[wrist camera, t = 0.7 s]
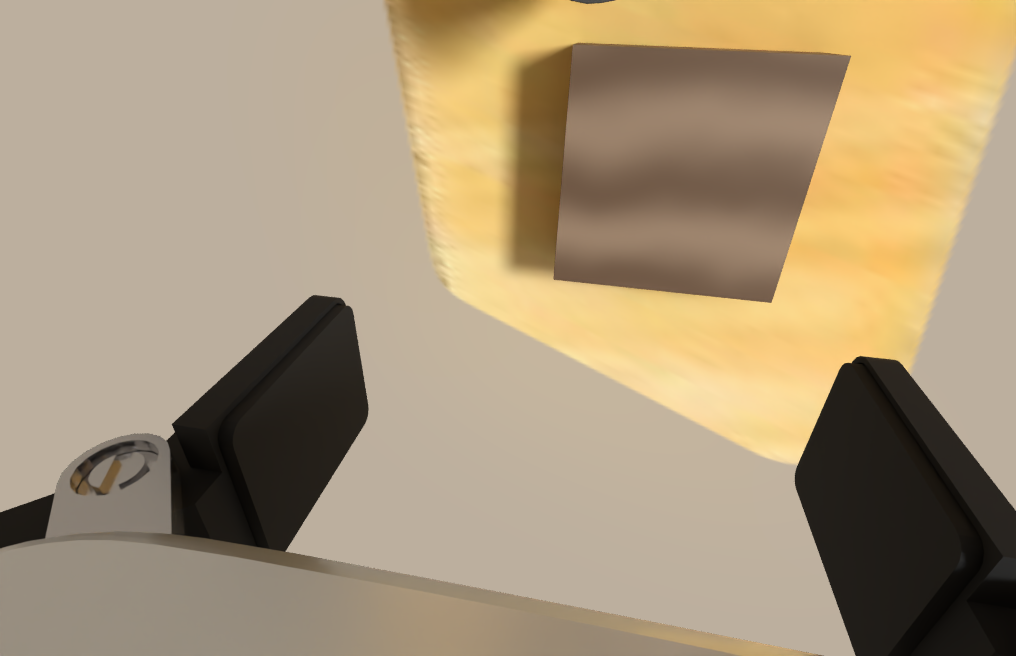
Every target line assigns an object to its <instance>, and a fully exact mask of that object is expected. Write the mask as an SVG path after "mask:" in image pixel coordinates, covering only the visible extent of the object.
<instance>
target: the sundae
mask: <svg viewBox="0 0 1016 656" xmlns="http://www.w3.org/2000/svg"><path fill="white" fill-rule="evenodd" d="M571 1H575V2H580V3H585V4H592V3H604V2H609V1H614V0H571Z"/></svg>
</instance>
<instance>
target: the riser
mask: <svg viewBox="0 0 1016 656" xmlns="http://www.w3.org/2000/svg"><path fill="white" fill-rule="evenodd" d="M850 58H851V56H847V55H839V54H830V53H816V52H792V51H767V50H742V49H717V48H692V47H667V46H643V45H618V44H593V43H576V44H573V50H572V62H571V74H570V86H569V98H568V111H567V123H566V135H565V147H564V159H563V171H562V183H561V195H560V207H559V219H558V232H557V244H556V256H555V268H554V280H563V281H572V282H582V283H591V284H600V285H610V286H619V287H629V288H638V289H647V290H657V291H666V292H675V293H685V294H694V295H704V296H713V297H722V298H732V299H741V300H750V301H760V302H769V303H771V302H772V299H773V296H774V293H775V290H776V287H777V284H778V281H779V278H780V275H781V271H782V268H783V265H784V262H785V259H786V256H787V253H788V250H789V247H790V244H791V240H792V237H793V234H794V231H795V228H796V225H797V222H798V219H799V216H800V213H801V209H802V206H803V203H804V200H805V197H806V194H807V191H808V188H809V185H810V182H811V178H812V175H813V172H814V169H815V166H816V163H817V160H818V157H819V154H820V151H821V147H822V144H823V141H824V138H825V135H826V132H827V129H828V126H829V123H830V120H831V117H832V113H833V110H834V107H835V104H836V101H837V98H838V95H839V92H840V89H841V86H842V82H843V79H844V76H845V73H846V70H847V67H848V64H849V61H850Z"/></svg>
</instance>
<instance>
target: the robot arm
mask: <svg viewBox="0 0 1016 656" xmlns="http://www.w3.org/2000/svg"><path fill="white" fill-rule="evenodd" d="M367 417H368V401H367V395H366V389H365V383H364V376H363V370H362V364H361V358H360V352H359V346H358V340H357V334H356V327H355V321H354V315H353V311H352V309H351V307H350V306H346V305H345V303H344V301H343V300H342V299H341V298H335V297H327V296H317V295H313V296H311V297H310V298H309V299H307V300H306V301H305V302H304V303H303V304H302V305H301V306H300V307H299V308H298V309H297V310H296V311H294V312H293V313H292V314H291V315H290V316H289V317H288V318H287V319H286V320H285V321H283V322H282V323H281V324H280V325H279V326H278V327H277V328H276V329H275V330H274V331H273V332H272V333H270V334H269V335H268V336H267V337H266V338H265V339H264V340H263V341H262V342H261V343H260V344H258V345H257V346H256V347H255V348H254V349H253V350H252V351H251V352H250V353H249V354H248V355H247V356H245V357H244V358H243V359H242V360H241V361H240V362H239V363H238V364H237V365H236V366H235V367H233V368H232V369H231V370H230V371H229V372H228V373H227V374H226V375H225V376H224V377H223V378H221V379H220V380H219V381H218V382H217V383H216V384H215V385H214V386H213V387H212V388H211V389H210V390H208V391H207V392H206V393H205V394H204V395H203V396H202V397H201V398H200V399H199V400H198V401H196V402H195V403H194V404H193V406H191V407H190V408H189V409H188V410H187V411H186V412H185V413H184V414H183V415H182V416H180V417H179V418H178V419H177V420H176V421H175V422H174V423H173V424H172V426H173V428H174V430H175V433H174V434H173V435H172V436H171V437H170V438H169V439H168V440H167V441H165V440H164V439H163V438H161V437H160V436H157V435H153V434H131V435H127V436H121V437H117V438H115V439H112V440H109V441H106V442H104V443H101V444H99V445H97V446H96V447H93V448H92V449H90V450H88V451H86V452H85V453H83V454H82V455H81V456H79V457H78V458H77V459H75V460H74V461H73V462H72V463H71V464H70V465H69V466H68V467H67V468H66V469H65V470H64V471H63V472H62V474H61V476H60V479H59V481H58V483H57V486H56V490H55V493H54V494H52V495H49V496H46V497H43V498H41V499H37V500H34V501H32V502H29V503H26V504H23V505H20V506H17V507H15V508H12V509H9V510H6V511H3V512H0V656H822V655H817V654H812V653H807V652H802V651H797V650H792V649H787V648H782V647H777V646H772V645H767V644H762V643H757V642H751V641H747V640H741V639H737V638H731V637H726V636H721V635H716V634H711V633H706V632H701V631H696V630H691V629H686V628H681V627H676V626H671V625H665V624H661V623H656V622H651V621H646V620H641V619H635V618H631V617H625V616H620V615H615V614H609V613H605V612H600V611H594V610H589V609H584V608H579V607H574V606H569V605H563V604H558V603H553V602H548V601H543V600H538V599H532V598H527V597H522V596H516V595H512V594H506V593H501V592H496V591H491V590H486V589H481V588H476V587H470V586H465V585H459V584H454V583H449V582H444V581H439V580H434V579H428V578H423V577H418V576H412V575H407V574H401V573H396V572H391V571H386V570H380V569H375V568H369V567H364V566H359V565H354V564H348V563H343V562H337V561H332V560H327V559H322V558H316V557H311V556H305V555H300V554H295V553H289V552H285V551H286V550H287V548H288V546H289V545H290V543H291V542H292V540H293V538H294V537H295V535H296V534H297V532H298V530H299V529H300V527H301V526H302V524H303V522H304V521H305V519H306V518H307V516H308V514H309V513H310V511H311V510H312V508H313V506H314V505H315V503H316V501H317V500H318V498H319V497H320V495H321V493H322V492H323V490H324V489H325V487H326V485H327V484H328V482H329V481H330V479H331V477H332V475H333V474H334V472H335V471H336V469H337V468H338V466H339V465H340V463H341V461H342V460H343V458H344V457H345V455H346V453H347V452H348V450H349V448H350V447H351V445H352V444H353V442H354V440H355V439H356V437H357V436H358V434H359V432H360V431H361V429H362V428H363V426H364V424H365V422H366V420H367ZM795 486H796V490H797V493H798V495H799V498H800V501H801V504H802V507H803V509H804V512H805V515H806V517H807V521H808V523H809V526H810V529H811V532H812V535H813V537H814V540H815V543H816V546H817V549H818V551H819V554H820V557H821V560H822V563H823V565H824V568H825V571H826V574H827V577H828V579H829V582H830V585H831V588H832V591H833V593H834V596H835V599H836V602H837V605H838V607H839V610H840V613H841V616H842V619H843V621H844V624H845V627H846V630H847V632H848V635H849V638H850V641H851V644H852V647H853V649H854V652H855V655H856V656H1016V511H1015V509H1014V508H1013V507H1012V505H1011V504H1010V503H1009V502H1008V501H1007V499H1006V498H1005V496H1004V495H1003V494H1002V493H1001V491H1000V490H999V489H998V487H997V486H996V485H995V484H994V483H993V481H992V480H991V479H990V477H989V476H988V475H987V473H986V472H985V471H984V469H983V468H982V467H981V466H980V464H979V463H978V462H977V460H976V459H975V458H974V457H973V455H972V454H971V453H970V451H969V450H968V449H967V448H966V446H965V445H964V444H963V442H962V441H961V440H960V439H959V437H958V436H957V435H956V433H955V432H954V431H953V430H952V428H951V427H950V426H949V425H948V423H947V422H946V421H945V419H944V418H943V417H942V415H941V414H940V413H939V412H938V410H937V409H936V408H935V406H934V405H933V404H932V403H931V401H930V400H929V399H928V397H927V396H926V395H925V394H924V392H923V391H922V390H921V388H920V387H919V386H918V385H917V383H916V382H915V381H914V379H913V378H912V377H911V376H910V374H909V373H908V372H907V370H906V369H905V368H904V367H903V365H902V364H901V363H900V362H899V361H896V360H890V359H881V358H872V357H863V356H860V357H857V358H856V359H855V360H854V361H853V362H852V363H845V364H844V365H842V367H841V368H840V370H839V372H838V375H837V377H836V379H835V381H834V384H833V386H832V388H831V391H830V393H829V395H828V397H827V400H826V402H825V404H824V407H823V409H822V411H821V413H820V416H819V418H818V420H817V423H816V425H815V427H814V429H813V432H812V434H811V436H810V438H809V441H808V443H807V445H806V448H805V450H804V452H803V454H802V457H801V459H800V461H799V464H798V466H797V468H796V473H795Z"/></svg>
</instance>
